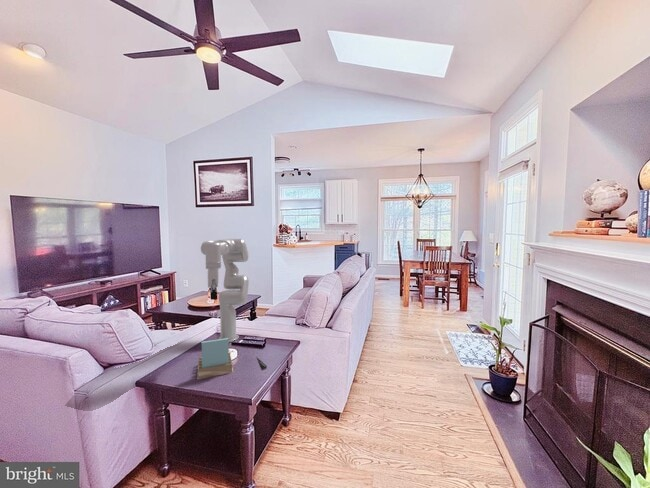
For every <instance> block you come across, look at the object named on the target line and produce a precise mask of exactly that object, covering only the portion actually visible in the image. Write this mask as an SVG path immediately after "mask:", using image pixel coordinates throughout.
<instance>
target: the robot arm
mask: <svg viewBox="0 0 650 488" xmlns="http://www.w3.org/2000/svg"><path fill="white" fill-rule="evenodd" d="M200 251H201V254H203V255H204V256H205V269H206V270H207V288H208V289H209V288H210V291H209V292H210V300H212V301H213V300H218V302H219V303H218V304H219V314H220V315H219V316H220V317H219V319H220V322H219V323H220V326H219V327H220V336H218V338H217V339H224V338H228V339H229V343H231V342H232V343H233V342H235V341H237V340H238V339H239V337H240V336H239V335H238V334H237V310H236V309H235V307H234V306H244V305H246V304H247V301H248V292H249V278H248V276H246V275H244V274H242V275H239V268H238V266H237V265H236V264H235V263H246V262H247V261H248V260H249V251H248V247H247V243H246V241H244V239H242V238H227V239H217V240H209V241H208V240H207V241H203V242H202V244H201V246H200ZM221 257H222V258H221ZM221 259H222V261H223V266H224V269H225V271H224V276H223V277H224V278H223V288H224V289H225V290H223V291H221V292H220V293H219V294H218V290H217V289H218V287H219V277H220V276H219V273H220V272H219V269H222V261H221ZM234 340H235V341H234Z"/></svg>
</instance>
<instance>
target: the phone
mask: <svg viewBox="0 0 650 488" xmlns="http://www.w3.org/2000/svg"><path fill="white" fill-rule="evenodd" d="M256 360H257V363H258V365H259V367H260V370H261V371H264V370H267V368H268V367H267V366H268V365H266V364H265V363H264V362H263V361H262V360H260V359H259V358H258V356H256Z"/></svg>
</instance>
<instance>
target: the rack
mask: <svg viewBox="0 0 650 488" xmlns="http://www.w3.org/2000/svg"><path fill="white" fill-rule="evenodd" d="M232 373H234V369H233V362H232V357H231V352H229V364H224V365H219V366H213V367H207V368H202V356H201V357H200V356H199V358H198V364H197V373H196V374H197V377H196V379H197V380H201V379H206V378H211V377H216V376H221V375H227V374H232Z"/></svg>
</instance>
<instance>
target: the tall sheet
mask: <svg viewBox="0 0 650 488" xmlns="http://www.w3.org/2000/svg"><path fill="white" fill-rule="evenodd" d="M229 343H230V342H229V339H228V338H224V339H218V338H217V339H212V340H210V339H209V340H204V341H201V357H202V368H207V367H213V366H219V365H224V364H229V353H230V352H229V351H230V350H229V347H230V346H229Z"/></svg>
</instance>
